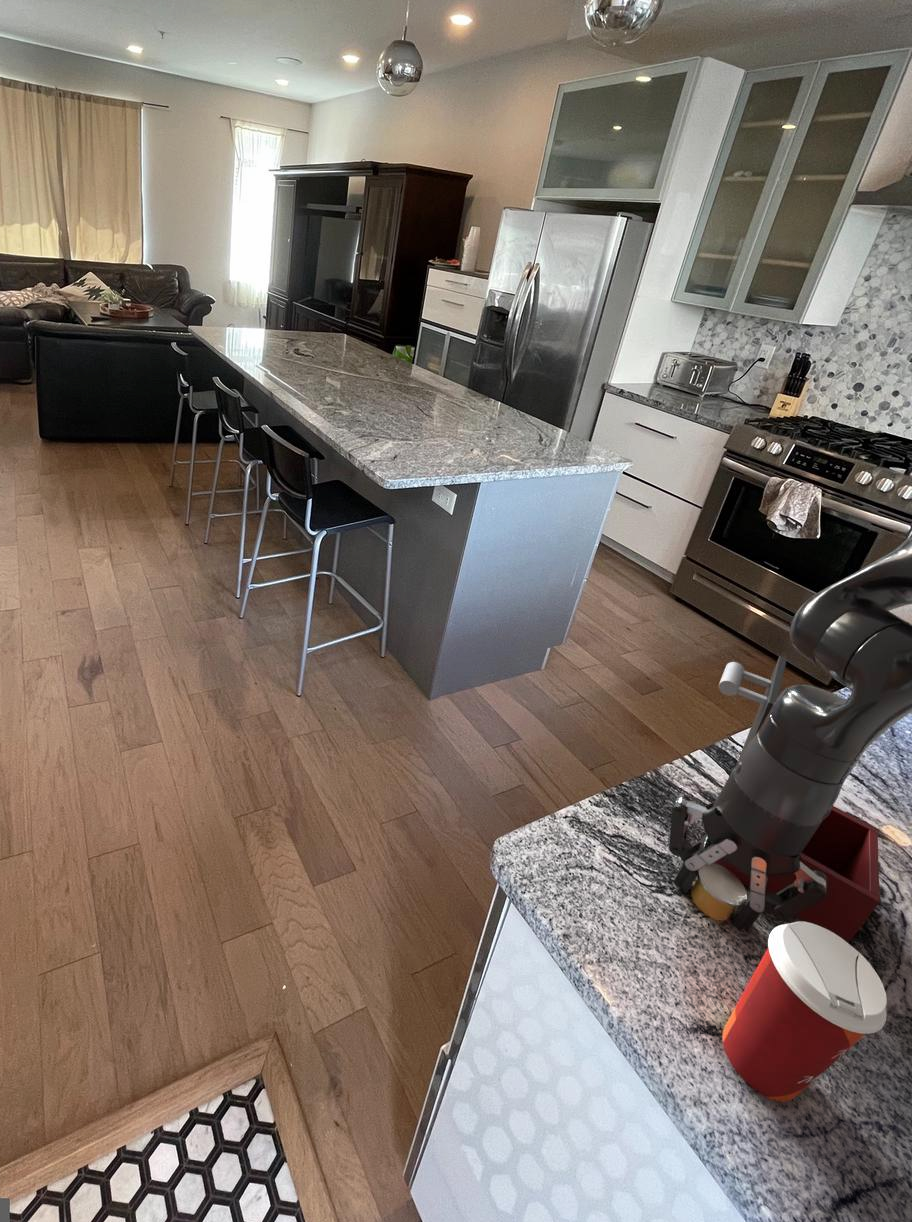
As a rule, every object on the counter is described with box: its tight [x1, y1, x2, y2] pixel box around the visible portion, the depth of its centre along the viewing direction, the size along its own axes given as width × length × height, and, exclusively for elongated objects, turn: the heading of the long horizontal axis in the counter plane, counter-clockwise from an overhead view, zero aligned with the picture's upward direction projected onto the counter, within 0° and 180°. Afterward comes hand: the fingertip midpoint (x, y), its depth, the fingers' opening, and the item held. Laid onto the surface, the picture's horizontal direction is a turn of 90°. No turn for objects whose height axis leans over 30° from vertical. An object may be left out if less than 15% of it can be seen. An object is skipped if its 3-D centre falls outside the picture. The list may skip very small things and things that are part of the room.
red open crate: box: [714, 805, 881, 944], centre depth 70 cm, size 14×12×8 cm
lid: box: [718, 655, 788, 759], centre depth 71 cm, size 14×12×5 cm
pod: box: [690, 863, 747, 921], centre depth 66 cm, size 5×5×4 cm
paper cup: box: [721, 921, 888, 1103], centre depth 51 cm, size 8×8×14 cm
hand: (708, 904), depth 66 cm, fingers closed on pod, 4 cm apart
